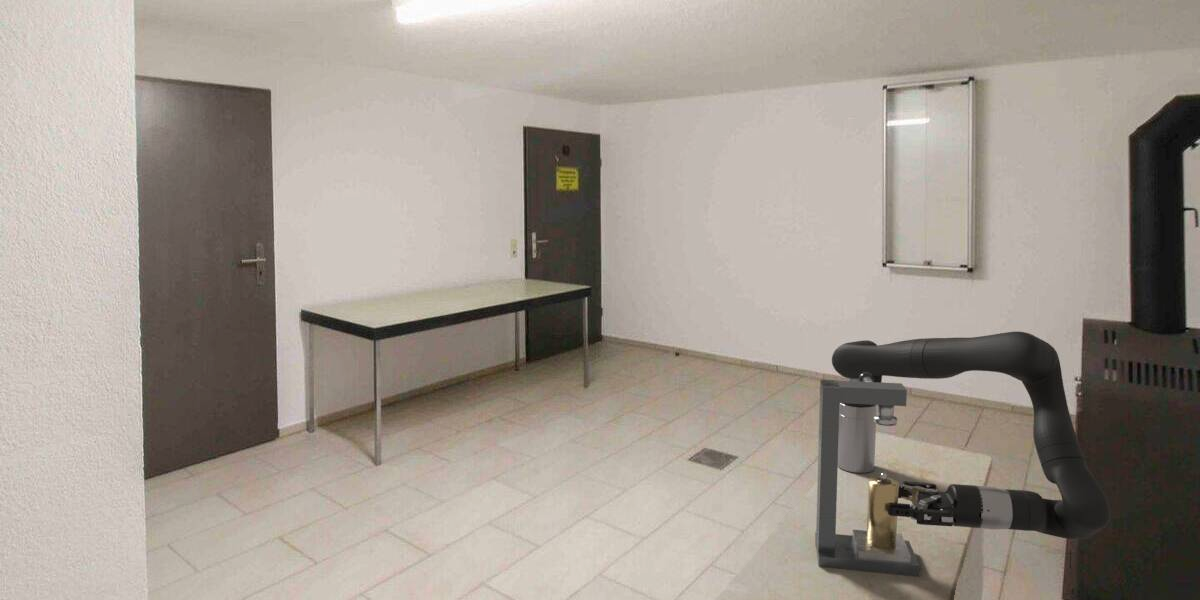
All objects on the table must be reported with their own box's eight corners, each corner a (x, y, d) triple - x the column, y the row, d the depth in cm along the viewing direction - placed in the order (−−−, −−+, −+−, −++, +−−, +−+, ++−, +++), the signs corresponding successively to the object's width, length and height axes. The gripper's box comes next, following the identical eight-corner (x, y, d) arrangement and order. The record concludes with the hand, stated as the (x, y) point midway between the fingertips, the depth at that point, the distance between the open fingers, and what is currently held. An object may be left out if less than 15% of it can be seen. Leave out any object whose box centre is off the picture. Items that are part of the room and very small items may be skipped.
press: (900, 532, 142) (907, 371, 138) (919, 576, 125) (928, 394, 121) (812, 524, 146) (816, 368, 142) (818, 566, 129) (823, 389, 125)
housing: (860, 538, 132) (863, 470, 131) (883, 534, 134) (886, 467, 132) (878, 550, 127) (881, 480, 126) (902, 546, 129) (905, 477, 127)
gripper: (968, 472, 132) (878, 466, 136) (992, 503, 118) (891, 495, 122) (966, 510, 133) (877, 503, 137) (989, 544, 119) (889, 535, 123)
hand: (884, 499), depth 129 cm, fingers open, 8 cm apart
